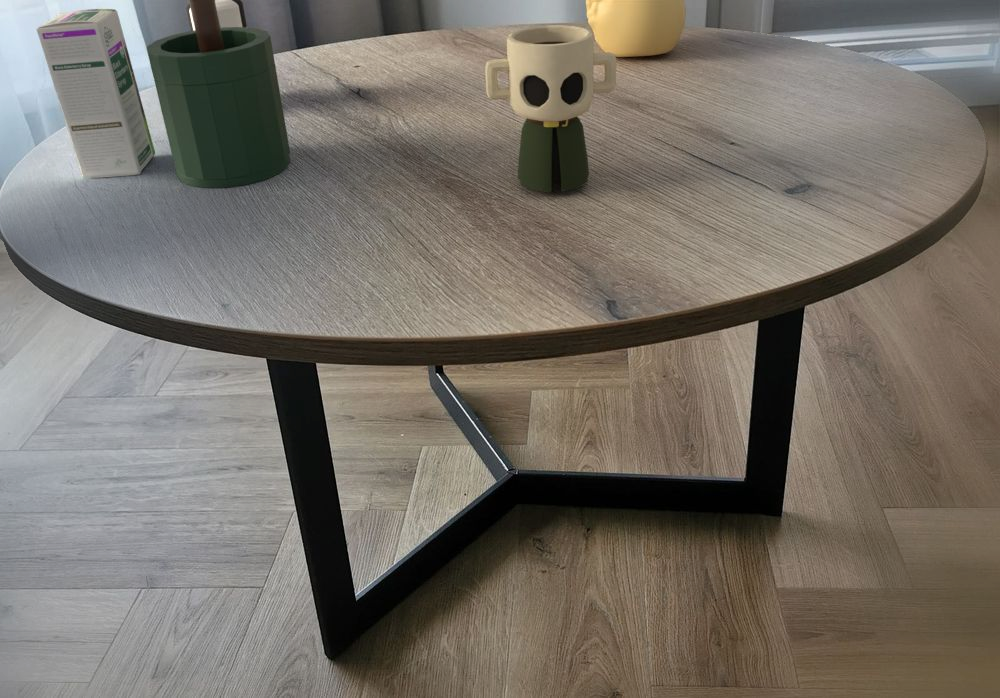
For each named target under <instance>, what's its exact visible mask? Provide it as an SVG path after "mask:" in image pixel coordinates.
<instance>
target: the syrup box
mask: <svg viewBox="0 0 1000 698" xmlns="http://www.w3.org/2000/svg"><path fill="white" fill-rule="evenodd" d="M35 30H36V32H37V35H38V39H39V41H40V45H41V48H42V52H43V54H44V58H45V61H46V65H47V68H48V71H49V74H50V78H51V80H52V84H53V87H54V90H55V93H56V96H57V100H58V104H59V107H60V109H61V112H62V117H63V120H64V122H65V124H66V125H65V126H66V129H67V132H68V136H69V138H70V141H71V145H72V148H73V152H74V154H75V157H76V160H77V163H78V167H79V170H80V174H81V176H82V177H83V178H85V179H86V178H87V179H89V178H90V179H91V178H93V179H94V178H96V179H97V178H98V179H99V178H100V179H101V178H112V177H114V178H115V177H125V176H127V177H128V176H135V175H140V174H142V170H143V169H145V167H146V166H147V165H148V164H149V162H150V161H151V160H152V158H153V157H154V156H155V154H156V150H155V147H154V143H153V139H152V136H151V133H150V128H149V125H148V121H147V117H146V113H145V110H144V105H143V102H142V97H141V95H140V91H139V87H138V84H137V80H136V76H135V72H134V68H133V65H132V61H131V57H130V54H129V50H128V46H127V43H126V39H125V36H124V32H123V28H122V24H121V21H120V18H119V14H118V11H117V10H116V9H113V8H89V9H81V10H80V9H79V10H73V11H67V12H61V13H60V12H59V13H57V14H56V16H55V17H53V18H52V19H50V20H48V21H47V22H45V23H44V24H41V25H39V26H38V27H37V28H36V29H35Z"/></svg>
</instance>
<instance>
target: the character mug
mask: <svg viewBox="0 0 1000 698" xmlns="http://www.w3.org/2000/svg"><path fill="white" fill-rule="evenodd" d="M594 40H595V38H594V33H593V30H590V29H589V28H586V27H582V26H579V25H578V26H577V25H567V24H545V25H537V26H530V27H529V26H528V27H524V28H521V29H516V30H514V31H512V32H510V33H509V35H508V36H507V37H506V52H507V53H506V55H507V56H506V57H507V58H498V59H496V58H495V59H490V60H488V61H486V63H485V66H484V72H485V73H484V74H485V76H484V77H485V90H486V91H485V92H486V95H487V98H488V99H490V100H495V101H496V100H509V105H510V107H511V109H512V111H513V112H514V114H516V115H517V116H519V117H522V118H524V119H525V121H524V123H523V125H522V128H521V132H520V140H519V141H520V142H519V143H520V144H519V151H518V164H517V179H518V182H519V183H520V185H521V186H522V188H523V187H524V188H526V189H529V190H531V191H535V192H541V193H542V192H543V193H552V183H553V184H558V183H560V185H561V186H560V187H561V192H567V191H568V192H569V191H571V190H575V189H578V188H580V187H582V186H584V185H585V184H586V183H588V181H589V176H590V168H589V158H588V149H587V143H586V137H585V131H584V125H583V123H582V121H581V118H579V116H582V115H583V114H586V113H587V112H589V111H590V109H591V106H592V104H593V101H594V98H595V96H594V94H603V93H604V94H605V93H611V92H613V91H615V89H616V86H617V57H615V54H613V53H605V52H594V45H595V43H594V42H595V41H594ZM602 65H603V66H604V79H603V80H601V81H594V66H602ZM498 72H507V77H508V86H507V87H499V85H498V83H499V82H498Z"/></svg>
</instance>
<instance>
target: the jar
mask: <svg viewBox="0 0 1000 698" xmlns="http://www.w3.org/2000/svg"><path fill="white" fill-rule="evenodd" d="M221 33H222V38H223V43H224V48H225V50H219V51H212V52H204V53H200V50H199V45H198V40H197V36H196V31H195V30H194V31H191V30H190V31H185V32H181V33H175V34H172V35H168V36H165V37H163V38H160V39H157V40H154V41H153V42H152V43H150V44H149V45H147V46H146V50H147V55H148V61H149V65H150V68H151V72H152V76H153V80H154V84H155V89H156V93H157V98H158V102H159V107H160V110H161V114H162V118H163V123H164V127H165V131H166V135H167V139H168V142H169V148H170V152H171V156H172V160H173V161H172V162H173V165H174V168H175V172H176V176H177V178H178V180H179V181H180V182H182V183H183V184H186V185H188V186H191V185H192V187H196V186H197V187H196V188H205V187H206V189H207V188H209V189H220V188H222V189H223V188H233V187H239V186H244V185H250V184H255V183H258V182H261V181H265V180H267V179H270V178H272V177H275V176H277V175H278V174H281V173H282V172H283V171H285V170H286V169H288V167H289V166H290V164H291V161H292V159H291V149H290V143H289V137H288V131H287V124H286V120H285V114H284V113H285V112H284V107H283V102H282V97H281V96H282V95H281V90H280V84H279V78H278V72H277V67H276V62H275V56H274V49H273V44H272V43H273V42H272V38H271V35H270V33H269V32H268V31H267V30H263V29H261V28H257V27H247V28H245V27H225V28H221Z"/></svg>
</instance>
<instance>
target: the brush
mask: <svg viewBox="0 0 1000 698" xmlns="http://www.w3.org/2000/svg"><path fill="white" fill-rule="evenodd" d="M189 3H190V8H191V12H192V17H193V22H194V26H195V31H196V36H197V40H198V45H199V50H200V53H204V52H212V51H219V50H225V48H224V43H223V38H222V33H221V28H220V23H219V18H218V13H217V8H216V4H215V0H188V4H189Z"/></svg>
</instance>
